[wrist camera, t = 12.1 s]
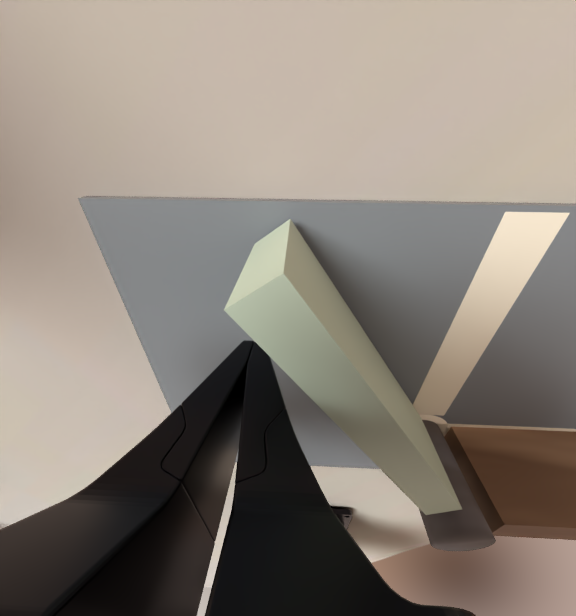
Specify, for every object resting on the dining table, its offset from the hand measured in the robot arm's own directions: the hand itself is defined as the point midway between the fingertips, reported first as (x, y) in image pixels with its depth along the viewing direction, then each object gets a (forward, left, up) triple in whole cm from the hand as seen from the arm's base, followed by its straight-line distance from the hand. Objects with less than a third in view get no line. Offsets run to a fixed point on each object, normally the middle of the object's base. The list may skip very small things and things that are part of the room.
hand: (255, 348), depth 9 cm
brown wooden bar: (-8, -16, -2) cm, 18 cm away
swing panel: (-1, -4, -1) cm, 5 cm away
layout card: (-4, -9, -2) cm, 10 cm away
